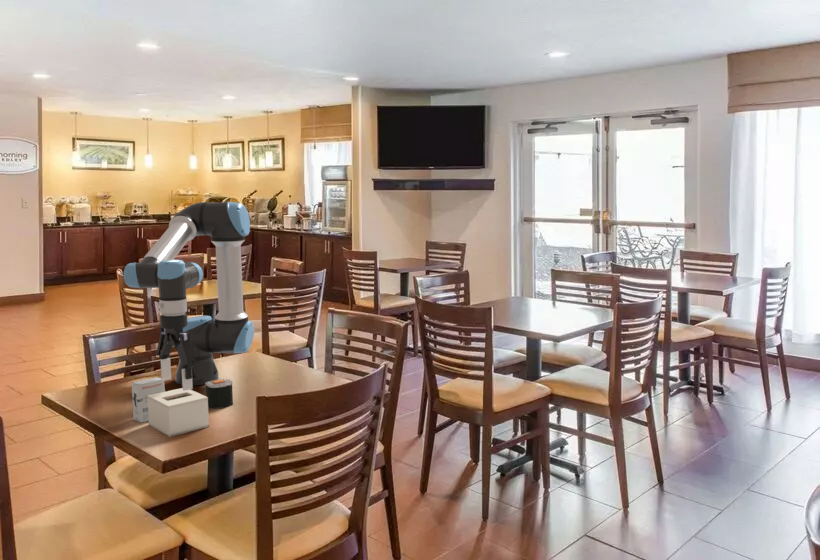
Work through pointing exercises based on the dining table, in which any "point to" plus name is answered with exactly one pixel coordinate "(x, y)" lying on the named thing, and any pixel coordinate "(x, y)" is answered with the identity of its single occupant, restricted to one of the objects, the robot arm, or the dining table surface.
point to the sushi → (219, 393)
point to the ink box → (144, 396)
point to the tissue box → (178, 411)
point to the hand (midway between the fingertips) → (176, 384)
